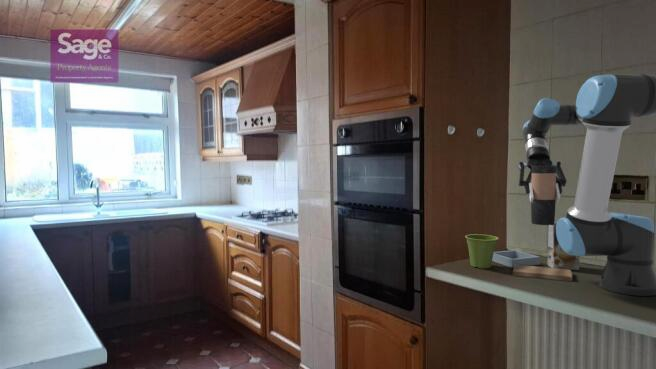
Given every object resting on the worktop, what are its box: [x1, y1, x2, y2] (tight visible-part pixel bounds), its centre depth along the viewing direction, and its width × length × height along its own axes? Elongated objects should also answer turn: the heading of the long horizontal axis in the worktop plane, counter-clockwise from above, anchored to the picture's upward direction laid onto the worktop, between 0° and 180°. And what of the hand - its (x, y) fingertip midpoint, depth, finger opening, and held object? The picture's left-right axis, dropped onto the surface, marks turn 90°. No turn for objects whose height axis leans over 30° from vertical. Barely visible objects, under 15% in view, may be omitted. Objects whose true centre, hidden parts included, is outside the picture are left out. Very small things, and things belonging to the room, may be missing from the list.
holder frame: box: [492, 249, 541, 269], centre depth 168 cm, size 13×13×3 cm
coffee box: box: [546, 222, 581, 271], centre depth 159 cm, size 9×6×16 cm
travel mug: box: [530, 166, 557, 226], centre depth 149 cm, size 8×8×20 cm
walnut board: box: [512, 265, 573, 282], centre depth 150 cm, size 18×10×2 cm, turn 63°
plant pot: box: [464, 233, 499, 269], centre depth 162 cm, size 12×12×11 cm
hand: (545, 200), depth 145 cm, fingers closed on travel mug, 7 cm apart
